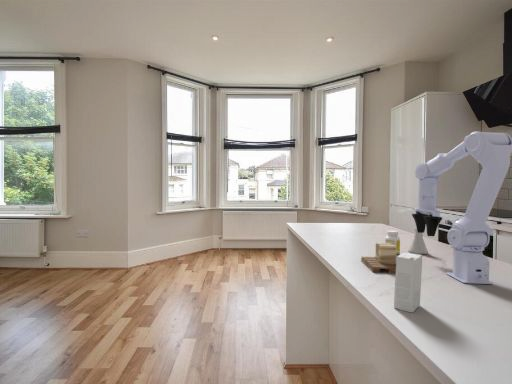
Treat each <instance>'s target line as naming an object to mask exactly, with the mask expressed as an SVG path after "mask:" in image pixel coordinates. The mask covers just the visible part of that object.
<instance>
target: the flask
mask: <svg viewBox="0 0 512 384" xmlns="http://www.w3.org/2000/svg"><path fill="white" fill-rule="evenodd" d="M413 230H414V235H413V238H412V241H411V243H410V246H409V248H408V250H407V253H408V252H409V253H411V254H418V255H426V254H429V251H428V249H427V245H426V243H425V241H424V236H423V233H418V231H417V227H416V228H414V229H413Z"/></svg>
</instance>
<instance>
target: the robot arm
mask: <svg viewBox="0 0 512 384" xmlns="http://www.w3.org/2000/svg"><path fill="white" fill-rule="evenodd" d="M511 154H512V136H511V135H510V134H509V133H506V132H487V131H486V132H484V131H478V130H477V131H472V132H471V133H469V134H468V135H466V136H465V137H464V139H463V141H462V142H460V144H458V145H457V146H456V147H455V146H454V147H453V149H451V150H450V151H449V152H447V153H446V152H439V153H437V155H436V156H435V157H433V158H432V159H429V160H428V161H427V162H425V163H421V162H420V163H418V164H417V165H416V167H415V169H414V175H415V177H416V178H417V179H418V182H417V183H418V185H417V187H418V188H417V207H414V213H411V217H412V218H413V219H414V223H415V227H416V228H417V231H418V233H422V234H424V233H425V232H426V235H427V237H435V236H436V232H437V229H438V226H439V225H440V223H441V222H442V220H443V217H442V216H440V215H441V211H440V210H438V209H436V207H437V185H438V184H439V179H440V177H441V175H442V174H443V173H444V172H446V171H448V170H450V169H451V168H453V167H454V166H455V165H454V164H455V163H456V162H457V161H459V160H461V159H464V158H466V157H468V156H470V155H471V157H472V158H474V160H475V161H476V162H477V163H478V164H480V166H481V167H482V169H481V172H480V173H479V177H478V179H477V182H476V185H475V187H474V190H473V192H472V195H471V197H470V199H469V202H468V204H467V208H466V211H465V213H464V215H463V217H461V218H459V219H457V220H456V221H454V223H453V225H452V227H451V228H449V230H448V232H447V236H446V239H447V242H448V244H449V245H450V248H452V249H453V255H452V256H453V257H452V272H451V271H447V272H446V275H448V276H450V277H452V278H454V279H456V281H457V280H458V281H459V282H461V283H463V284H483V285H493V282H492V281H490V260H489V258H488V257H487V256H486V255H484V254H483V251H485V248H486V247H488V245H489V244H490V237H491V236H490V234H491V231H492V228H491V226H489V224H487V221H488V218H489V216H490V213H491V211H492V208H493V206H494V204H495V202H496V200H497V197H498V194H499V193H500V190H501V187H502V186H503V183H504V182H505V181H504V180H505V178H506V176H507V173H508V171H509V170H510V169H509V168H510V167H511V166H510V165H511V163H510V162H511ZM425 230H426V231H425Z"/></svg>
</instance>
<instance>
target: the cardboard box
mask: <svg viewBox="0 0 512 384" xmlns="http://www.w3.org/2000/svg"><path fill="white" fill-rule="evenodd" d="M374 257H375V260H376V261H378V262H379V263H380V264H395V263H396V258H397V257H396V246H395V245H393V244H391V243H385V242H375V256H374Z"/></svg>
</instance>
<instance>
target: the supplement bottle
mask: <svg viewBox="0 0 512 384" xmlns="http://www.w3.org/2000/svg"><path fill="white" fill-rule="evenodd" d="M386 233H387V235H386V236H385V237H384V243H391V244H393V245H395V246H396V258H397V257H398V256H399V255H401V253H400V252H401V250H400V249H401V238H400V236H399V231H398V230H387V232H386Z"/></svg>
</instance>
